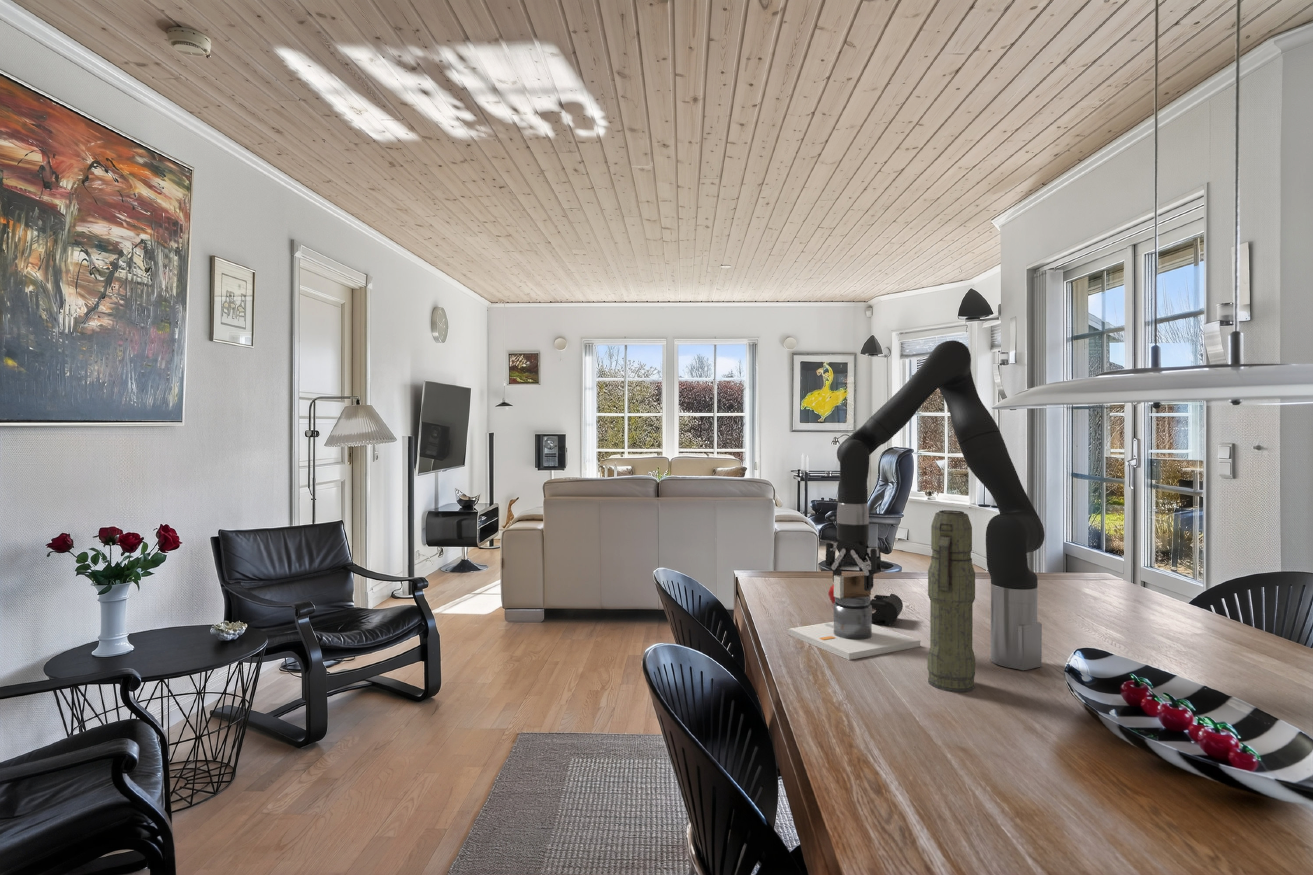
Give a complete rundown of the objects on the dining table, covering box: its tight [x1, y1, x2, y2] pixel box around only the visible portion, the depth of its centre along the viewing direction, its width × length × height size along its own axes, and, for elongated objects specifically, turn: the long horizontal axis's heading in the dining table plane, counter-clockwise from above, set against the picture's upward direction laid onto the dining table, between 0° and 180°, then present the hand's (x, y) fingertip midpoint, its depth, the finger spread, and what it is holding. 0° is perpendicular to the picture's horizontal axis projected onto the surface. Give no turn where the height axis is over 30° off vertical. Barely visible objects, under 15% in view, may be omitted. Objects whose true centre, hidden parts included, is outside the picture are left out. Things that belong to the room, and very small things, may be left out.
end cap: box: [871, 593, 904, 627], centre depth 190 cm, size 10×7×7 cm
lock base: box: [788, 603, 921, 661], centre depth 173 cm, size 22×22×9 cm
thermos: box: [926, 509, 976, 693], centre depth 143 cm, size 9×12×35 cm
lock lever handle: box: [833, 572, 872, 608], centre depth 173 cm, size 9×8×7 cm
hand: (852, 587), depth 173 cm, fingers open, 8 cm apart
